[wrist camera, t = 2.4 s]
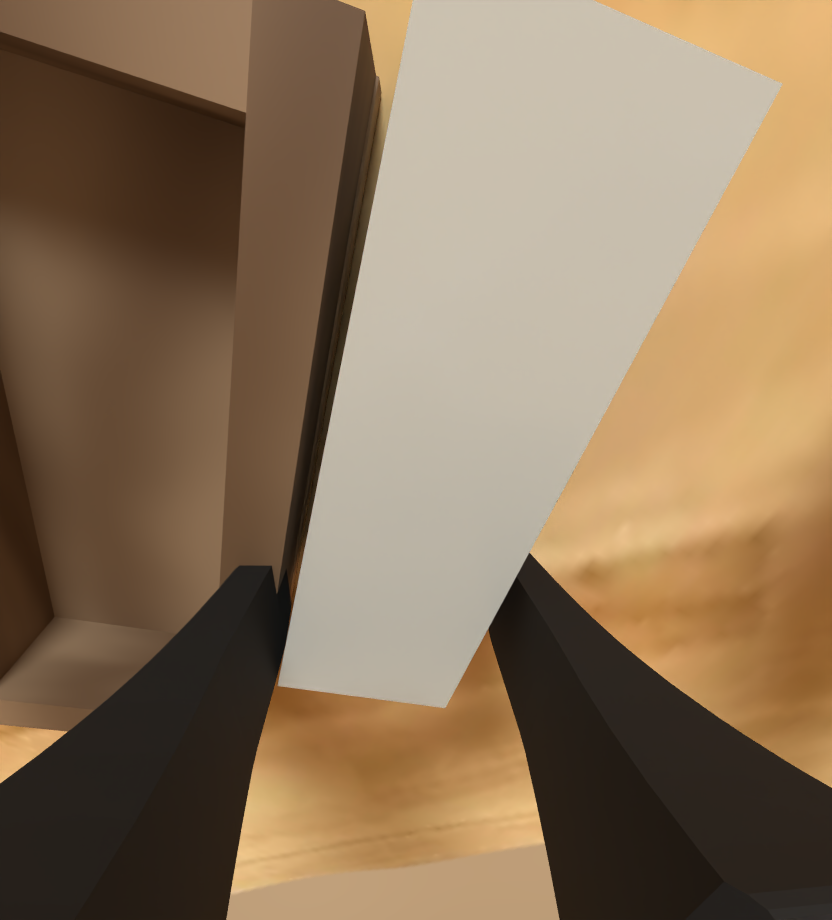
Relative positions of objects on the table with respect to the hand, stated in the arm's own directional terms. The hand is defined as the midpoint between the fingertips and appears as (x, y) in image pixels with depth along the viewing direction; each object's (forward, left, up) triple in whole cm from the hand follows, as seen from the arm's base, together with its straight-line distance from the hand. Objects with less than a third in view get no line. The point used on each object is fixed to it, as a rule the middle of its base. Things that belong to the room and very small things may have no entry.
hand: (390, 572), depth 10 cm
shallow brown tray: (+6, -1, -2) cm, 7 cm away
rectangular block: (0, -4, -3) cm, 5 cm away
